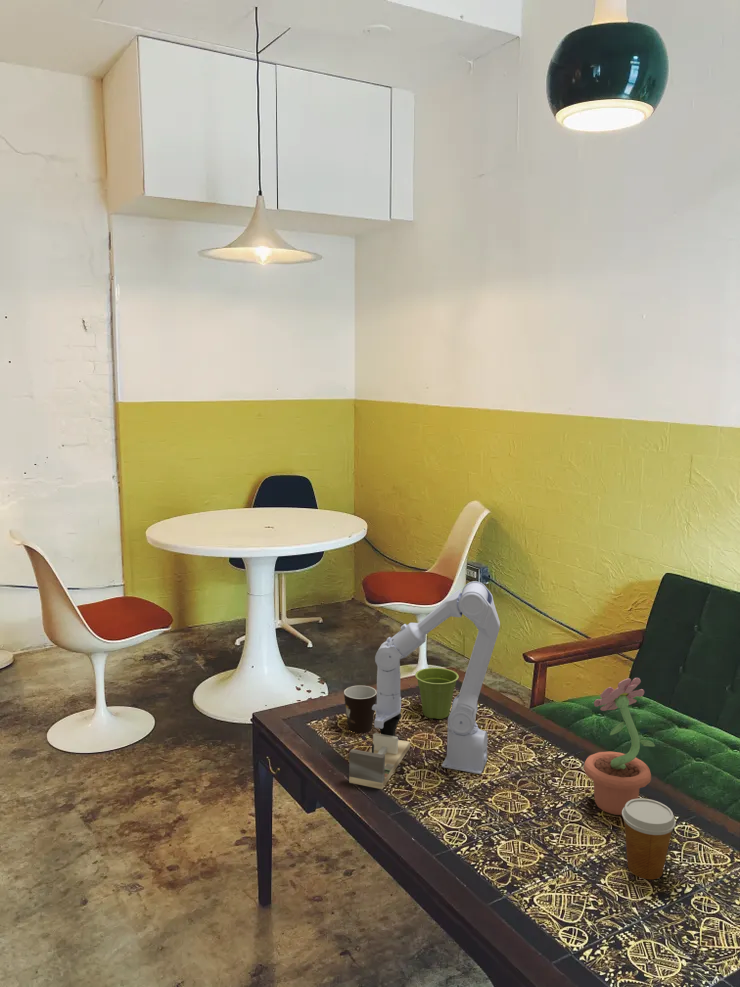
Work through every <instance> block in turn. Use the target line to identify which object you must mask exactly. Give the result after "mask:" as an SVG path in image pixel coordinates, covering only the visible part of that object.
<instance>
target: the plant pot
mask: <svg viewBox="0 0 740 987" xmlns="http://www.w3.org/2000/svg"><path fill="white" fill-rule="evenodd" d="M414 676H415V678H416V679H417V684H418V688H419V694H420V699H421V700H420V701H421V708H422V713H423V716H424V717H426V718H427V719H428V718H429V719H437V720H442V719H446V718H448V717H449V715H450V712H451V709H452V702H453V696H454V691H455V688H456V685H457V681H458V679H459V677H460V676H459V674H458V673H457V671H454V670H452V669H448V668H444V667H425V668H422V669H420V670H418V671H417V672H415V675H414Z"/></svg>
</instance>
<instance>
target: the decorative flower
mask: <svg viewBox="0 0 740 987" xmlns="http://www.w3.org/2000/svg"><path fill="white" fill-rule="evenodd" d="M641 682H642V681H641V679H640V677H634V678H633V679H631V678H625V679H623V680H621V681H620V682H618V683H617V688H615V689H614V688H613V687H611V686H609V687H607V688H605V689H604V690H603V691H602V693H601V694H600V695H599V696H600V699H599V698H597V699H595V700H594V702H593V705H594V707H595V708H597V707H600V708H599V710H600V711H603V712H606V711H612V710H616V709H619V710H620V713H621V716H622V719H623V721H622V722H619V723H618V724H617V725H615V726H614V728H612V730H610V733H609V736H613V735H616V734H617V733H618V734H619V732H620V731H622V730H623V728H624V726H625V727H626V728H627V732H628V733H629V736H630V742H631V744H630V748H629V751H628V752H627V753H623V752H618V751H617V752H616V751H598V752H596V753H593V754H590V755H588V756H587V758H586V760H585V761H584V765H583V771H584V774H585V775H586V777H588V778H589V780H591V781H593V794H594V796H593V797H594V803H595V804H596V806H597V807H598V808H599V809H600V810H601V811H603V812H605V813H607V814H611V815H615V816H622V810H623V808H624V807H625V804H626V803H627V802H628V801H630V800H632V799H638V798H639V796H640V789H641V788H645V787H647V785H649V783H650V782H651V781H652V774H651V769H650V768H649V766H648V764H646V763H645V762H644V761H643V760H641V759H639V758H638V757H637V756H638V755H639V751H640V747H641V745H642V746H644V747H650V748H652V747H656V745H655V743H654V742H653V741H652V740H648V739H640V738H641V737H640V735H639V733H638V730H637V728H636V725H635V723H634V720H633V717H632V713H631V712H630V709H629V706H630V705H634V704H635V703H637V702H638V700H637V699H636V697H640V698H641V697H643V696H644V694H645V690H644V689H642V688H641V689H636V688H637V687H638V686H639V685H640V684H641ZM635 689H636V690H635Z"/></svg>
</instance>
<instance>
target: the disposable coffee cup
mask: <svg viewBox="0 0 740 987" xmlns="http://www.w3.org/2000/svg"><path fill="white" fill-rule="evenodd" d="M621 816H622V818H623V822H624V833H625V834H624V835H625V836H624V837H625V847H626V850H625V851H626V860H627V861H626V863H627V868H628V871H629V872H630V873H632V875H634V876H636V877H638V878H640V879H644V880H656V879H659V878H661V877H662V876H663V873H664V868H665V863H666V860H667V853H668V850H669V846H670V841H671V837H672V831H673V830H674V828H675V826H676V825H677V824H676V818H675V817H674V813H673V810H671V808H670V807H668V806H667V805H665V804H664V803H662V802H660V801H657V800H654V799H651V798H650V799H649V798H639V797H638V799H632V800H630V801H628V802H627V803H626V804H625V807H624V808H623V810H622V815H621Z"/></svg>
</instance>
